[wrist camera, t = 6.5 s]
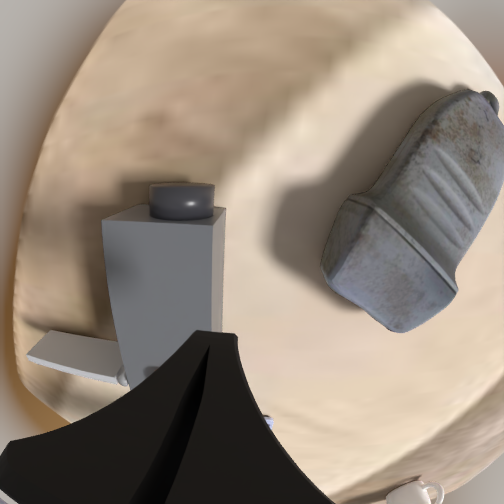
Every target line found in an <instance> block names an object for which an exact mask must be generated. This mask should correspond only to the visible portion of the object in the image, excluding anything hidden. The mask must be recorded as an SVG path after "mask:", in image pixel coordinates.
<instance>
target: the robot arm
mask: <svg viewBox="0 0 504 504" xmlns="http://www.w3.org/2000/svg"><path fill="white" fill-rule="evenodd" d="M272 427H273V418H271V417H263V415H262V413H261V411H260V409H259V407H258V405H257V403H256V401H255V399H254V397H253V394H252V392H251V390H250V387H249V385H248V382H247V380H246V377H245V374H244V371H243V368H242V364H241V361H240V356H239V351H238V337H237V336H236V335H235V334H234V333H223V332H212V331H203V330H196V331H194V332H193V333H192V334H191V335H190V337H189V338H188V339H187V340H186V341H185V342H184V343H183V344H182V345H181V346H180V347H179V348H178V349H177V350H176V352H175V353H174V354H173V355H171V356H170V357H169V358H168V359H167V360H166V361H165V362H164V363H163V364H162V365H161V366H160V367H159V368H158V369H157V370H156V371H154V372H153V373H152V374H151V375H150V376H148V377H147V378H146V379H145V380H144V381H142V382H141V383H140V384H139V385H137V386H136V387H135V388H133V389H132V390H131V391H129V392H128V393H126V394H125V395H123V396H122V397H120V398H119V399H117V400H116V401H114V402H113V403H111V404H109V405H108V406H106V407H104V408H102V409H101V410H99V411H97V412H95V413H93V414H91V415H89V416H87V417H85V418H83V419H81V420H79V421H76V422H74V423H72V424H69V425H67V426H64V427H61V428H59V429H56V430H53V431H50V432H47V433H44V434H40V435H36V436H32V437H27V438H23V439H19V440H14V441H10V442H9V443H8V445H7V446H6V448H5V449H4V451H3V452H2V454H1V456H0V489H1V490H2V491H3V492H4V493H5V494H7V495H8V496H9V497H10V498H12V499H13V500H14V501H16V502H17V503H18V504H335V503H334V502H333V501H331V500H330V499H329V498H328V497H327V496H326V495H325V494H324V493H323V492H322V491H321V490H319V489H318V488H317V487H316V486H315V485H314V484H313V482H312V481H311V480H310V479H309V478H308V477H307V476H306V475H305V474H304V473H303V472H302V471H301V469H300V468H299V467H298V466H297V465H296V463H295V462H294V461H293V459H292V458H291V457H290V456H289V454H288V453H287V452H286V450H285V449H284V448H283V447H282V445H281V444H280V442H279V441H278V440H277V438H276V436H275V435H274V433H273V432H272ZM0 504H7V503H6V502H4V501H3V500H2V499H1V498H0Z"/></svg>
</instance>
